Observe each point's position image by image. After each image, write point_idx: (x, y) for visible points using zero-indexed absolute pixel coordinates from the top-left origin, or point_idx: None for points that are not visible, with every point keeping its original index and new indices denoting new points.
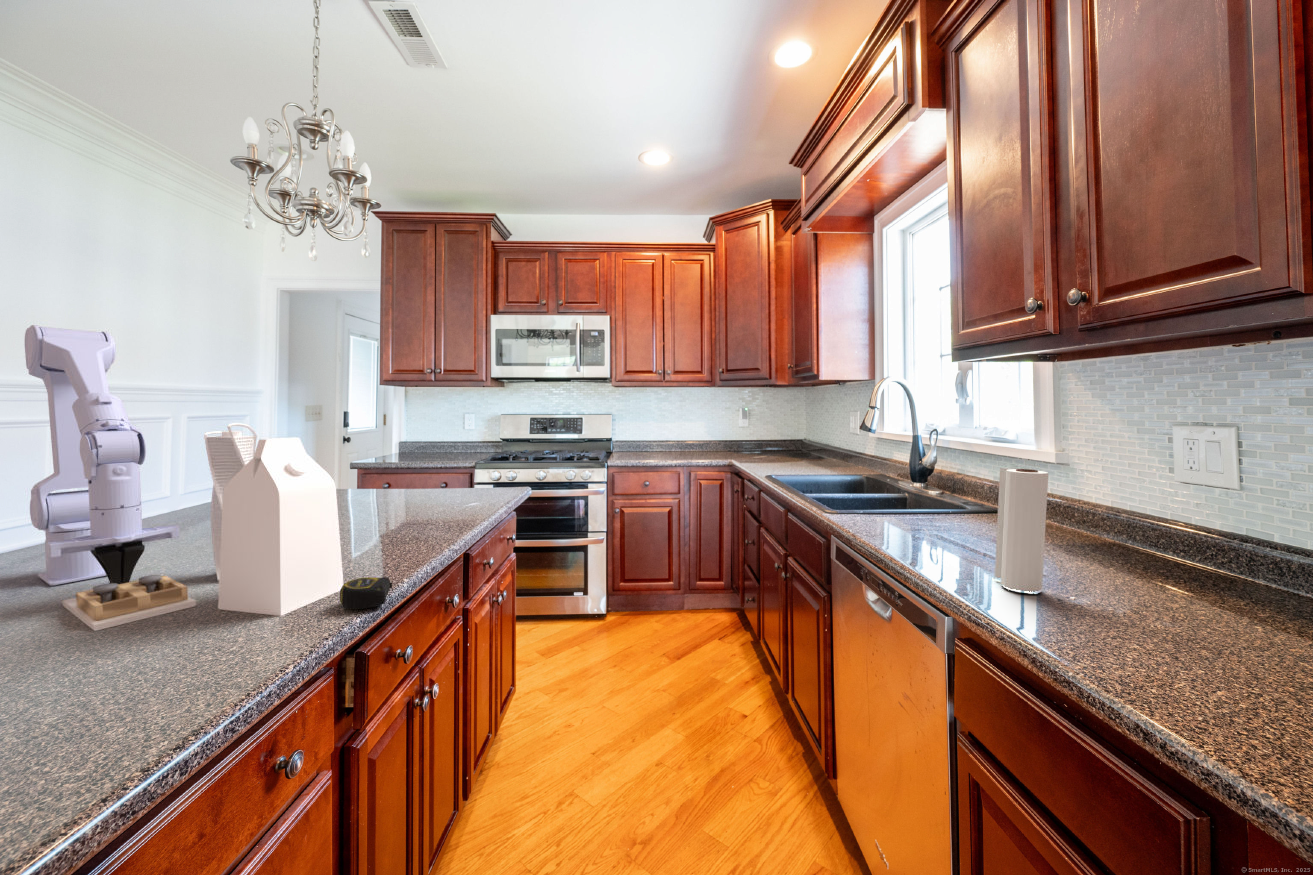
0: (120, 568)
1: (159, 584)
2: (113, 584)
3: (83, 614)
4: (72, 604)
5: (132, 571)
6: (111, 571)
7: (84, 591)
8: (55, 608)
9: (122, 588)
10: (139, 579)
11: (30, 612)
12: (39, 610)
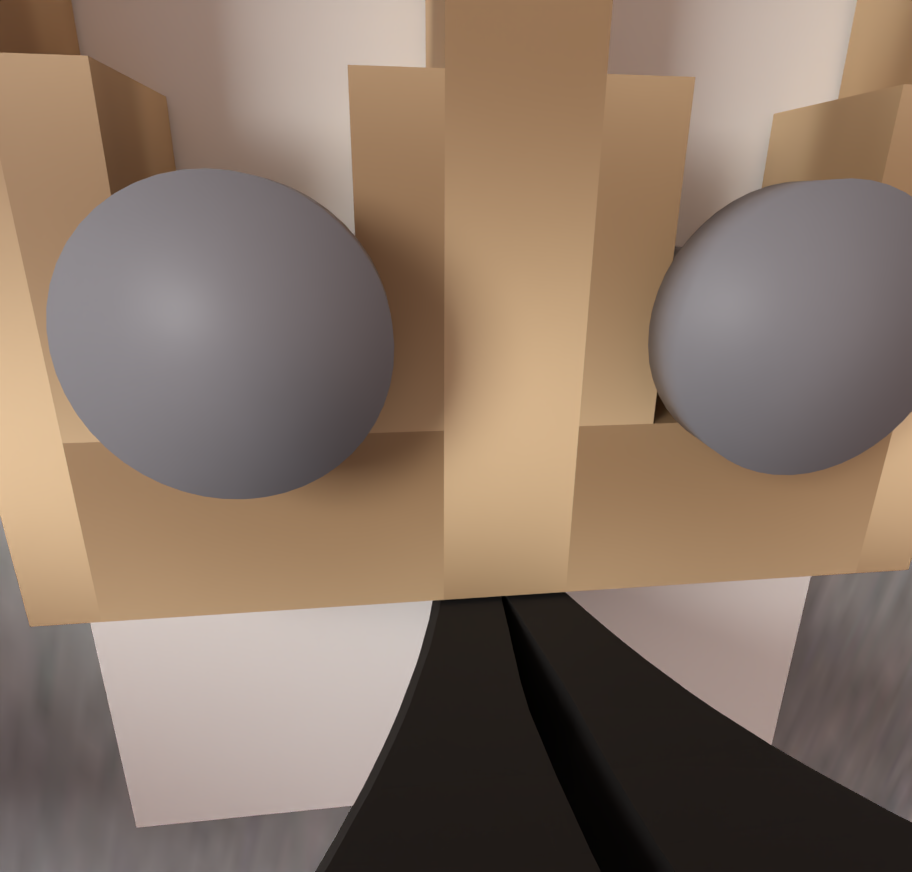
0: (600, 751)
1: None
2: (721, 348)
3: None
4: (784, 593)
5: (408, 698)
6: (711, 723)
7: (845, 563)
8: (790, 693)
9: (586, 322)
10: (387, 343)
11: (892, 713)
12: (851, 719)
